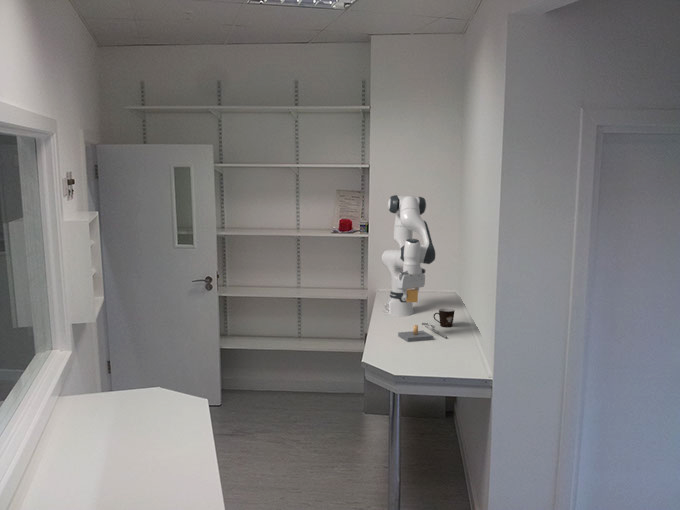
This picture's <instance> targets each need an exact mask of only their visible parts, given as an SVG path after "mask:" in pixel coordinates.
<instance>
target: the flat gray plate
mask: <svg viewBox="0 0 680 510" xmlns="http://www.w3.org/2000/svg"><path fill="white" fill-rule="evenodd" d="M412 327H413V328H412V329H413V330H412V331H399V332H397V336H398V338H400V339H402V340H404V341H405V342H408V343H411V342H421V341H422V342H423V341H434V335H433V334H431V333H428V332H426V331H424V330H419V325H418V324H413V326H412Z"/></svg>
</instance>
